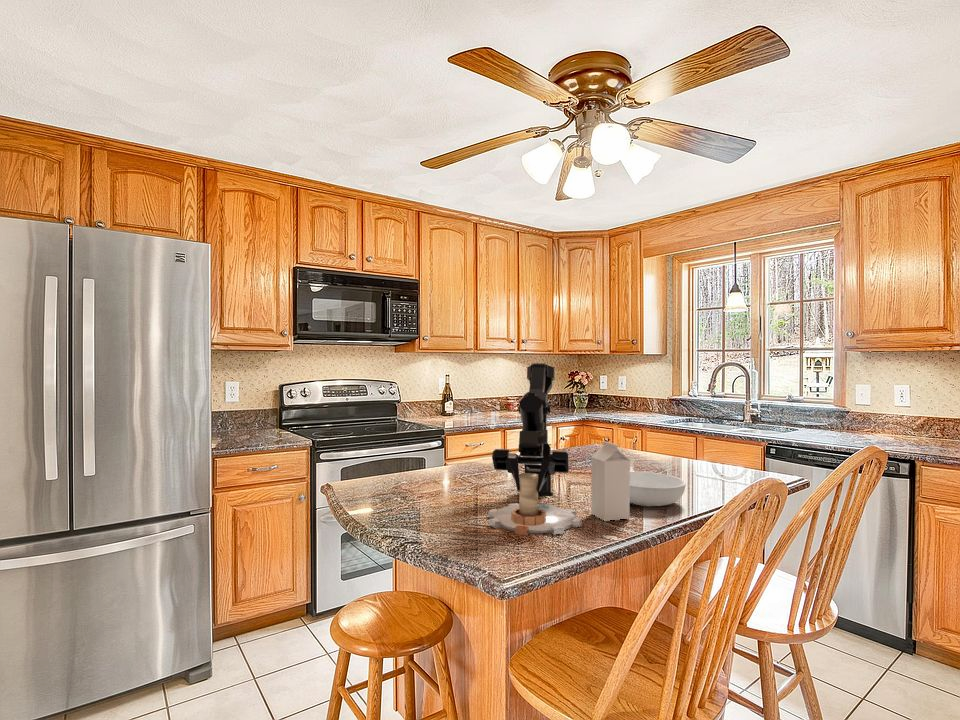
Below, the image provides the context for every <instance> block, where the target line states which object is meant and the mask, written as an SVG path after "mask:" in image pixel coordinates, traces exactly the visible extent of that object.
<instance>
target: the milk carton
mask: <svg viewBox="0 0 960 720" xmlns="http://www.w3.org/2000/svg"><path fill="white" fill-rule="evenodd" d="M602 443H603V444H602V446H601V447H599V449H598V450H597V451H595V452H594V453H593V455H592V456H591V470H590V471H591V474H590V475H591V476H590V477H591V478H590V479H591V482H590V483H591V484H590V485H591V486H590V489H591V492H590V493H591V495H590V497H591V498H590V503H591V505H590V514H591V515H592V514H593V516H594V515H595V516H594V517H596V518H597V519H599V518H600V520H601V519H602V520H601V521H603V520H604V521H603V522H611V521H610V520H615V521H621V520H620V519H627V518H629V519H630V504H631V503H630V472H631V471H630V469H631V467H630V466H631V465H630V459H629V458H627V456H626V455H625V454H623V450H622V449H621V448H619V447H618V445H619V444H616V443H613V442H608V441H606V440H603V442H602ZM627 520H628V519H627Z"/></svg>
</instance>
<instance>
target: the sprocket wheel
mask: <svg viewBox="0 0 960 720" xmlns="http://www.w3.org/2000/svg"><path fill="white" fill-rule="evenodd" d="M487 516H488V518H489V526H491V527H492V528H494V529H500V528H501V529H504V530H507V531H511V532H514V534H515V535H518V536H519V535H520V536H528V535H529V534H531V535H533V534H535V535H536V534H537V535H541V534H542V535H543V533H547V534H551V533H552V534H553V535H552V534H551V535H552V536H557V535H556V534H560V535H564V534H565V531H567V530H566V529H568V530H570V529H572V528H575V527H574V526H577V527H578V526H579V527H581V526H582V525H581V524H583V520H582V518H580V517H577V510H575V509H572V508H562V507H560V506H559V507H558V506H555V505H554V506H553V505H551V503H542V502H539V503H538V515H537V516H523V515H519V503H517V502H515V503H508V504H507V506H504V507H501V508H498V509H497V508H491V509H490V510H488V515H487ZM580 525H581V526H580ZM572 526H573V527H572ZM571 527H572V528H571ZM577 527H576V528H577ZM569 528H570V529H569ZM564 530H565V531H564ZM563 533H564V534H563Z"/></svg>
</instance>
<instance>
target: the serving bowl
mask: <svg viewBox="0 0 960 720" xmlns="http://www.w3.org/2000/svg"><path fill="white" fill-rule="evenodd" d="M686 486H687V485H686V482H685V479H684V480H683V479H682V478H679V477H678V476H673V475H669V474H663V473H660V472H659V473H658V472H650V471H630V504H632V503H633V504H632V505H634V504H637V505H643V506H658V507H662V506H663V507H664V506H668V505H672V504H674V503H676V502H678V501H679V500H680V499H681V498H682V497H683V495H684V492H685V490H686ZM637 505H636V506H637ZM643 506H642V507H643Z"/></svg>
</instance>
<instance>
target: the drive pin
mask: <svg viewBox="0 0 960 720" xmlns="http://www.w3.org/2000/svg"><path fill="white" fill-rule="evenodd" d="M518 492H519V493H518V495H519V499H518V500H519V503H518V504H519V515H523V516H537V515H538V505H539V496H538V474H535V473H525V472H522V473H519V491H518Z"/></svg>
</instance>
